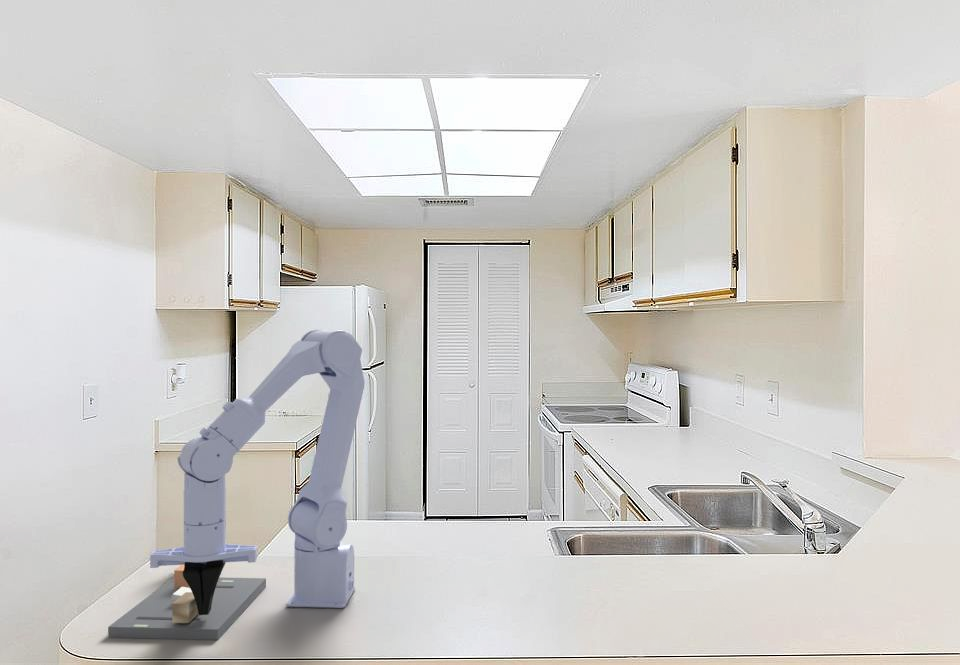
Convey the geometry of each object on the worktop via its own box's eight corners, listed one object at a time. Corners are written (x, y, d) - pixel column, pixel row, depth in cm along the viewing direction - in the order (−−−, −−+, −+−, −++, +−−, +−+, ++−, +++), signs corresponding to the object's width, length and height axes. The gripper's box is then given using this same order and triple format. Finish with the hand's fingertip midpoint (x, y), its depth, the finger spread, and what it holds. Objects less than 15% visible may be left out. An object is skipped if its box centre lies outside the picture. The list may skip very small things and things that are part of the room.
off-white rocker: (211, 596, 106) (212, 591, 106) (203, 604, 103) (204, 599, 103) (181, 591, 106) (182, 586, 106) (171, 599, 103) (172, 594, 103)
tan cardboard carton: (201, 611, 100) (201, 592, 100) (188, 623, 96) (188, 603, 96) (185, 610, 100) (185, 592, 100) (172, 622, 96) (172, 603, 96)
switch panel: (265, 587, 114) (265, 576, 114) (217, 639, 95) (217, 626, 95) (174, 585, 114) (174, 574, 114) (108, 637, 96) (108, 624, 95)
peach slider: (197, 580, 112) (197, 564, 112) (188, 587, 109) (188, 570, 109) (183, 580, 112) (183, 563, 112) (174, 587, 109) (174, 570, 109)
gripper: (260, 510, 103) (260, 597, 103) (160, 514, 100) (160, 603, 101) (253, 524, 96) (253, 617, 96) (145, 528, 93) (145, 624, 94)
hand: (204, 612), depth 98 cm, fingers closed
